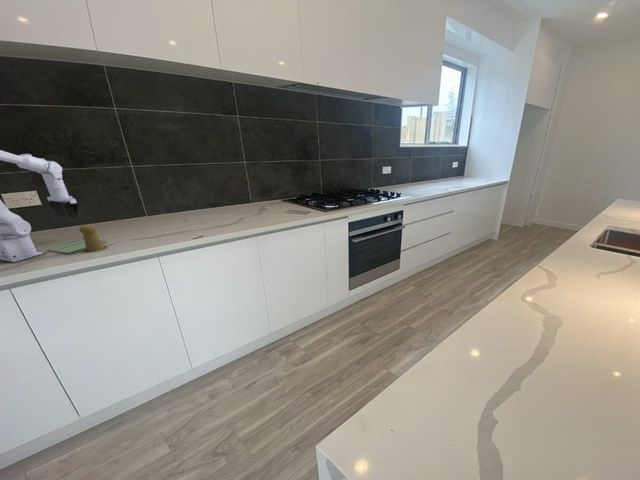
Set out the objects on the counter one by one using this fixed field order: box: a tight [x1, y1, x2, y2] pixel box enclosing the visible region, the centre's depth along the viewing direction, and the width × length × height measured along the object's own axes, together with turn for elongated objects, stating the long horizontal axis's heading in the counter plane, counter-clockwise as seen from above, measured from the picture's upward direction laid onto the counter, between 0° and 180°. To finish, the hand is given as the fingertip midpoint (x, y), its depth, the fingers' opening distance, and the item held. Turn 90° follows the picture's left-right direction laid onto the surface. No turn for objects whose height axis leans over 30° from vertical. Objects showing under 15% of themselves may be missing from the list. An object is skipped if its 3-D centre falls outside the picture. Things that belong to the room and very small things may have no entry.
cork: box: [79, 224, 105, 252], centre depth 131 cm, size 6×6×11 cm
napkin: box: [47, 238, 104, 255], centre depth 135 cm, size 14×12×1 cm
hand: (68, 217), depth 141 cm, fingers open, 7 cm apart
